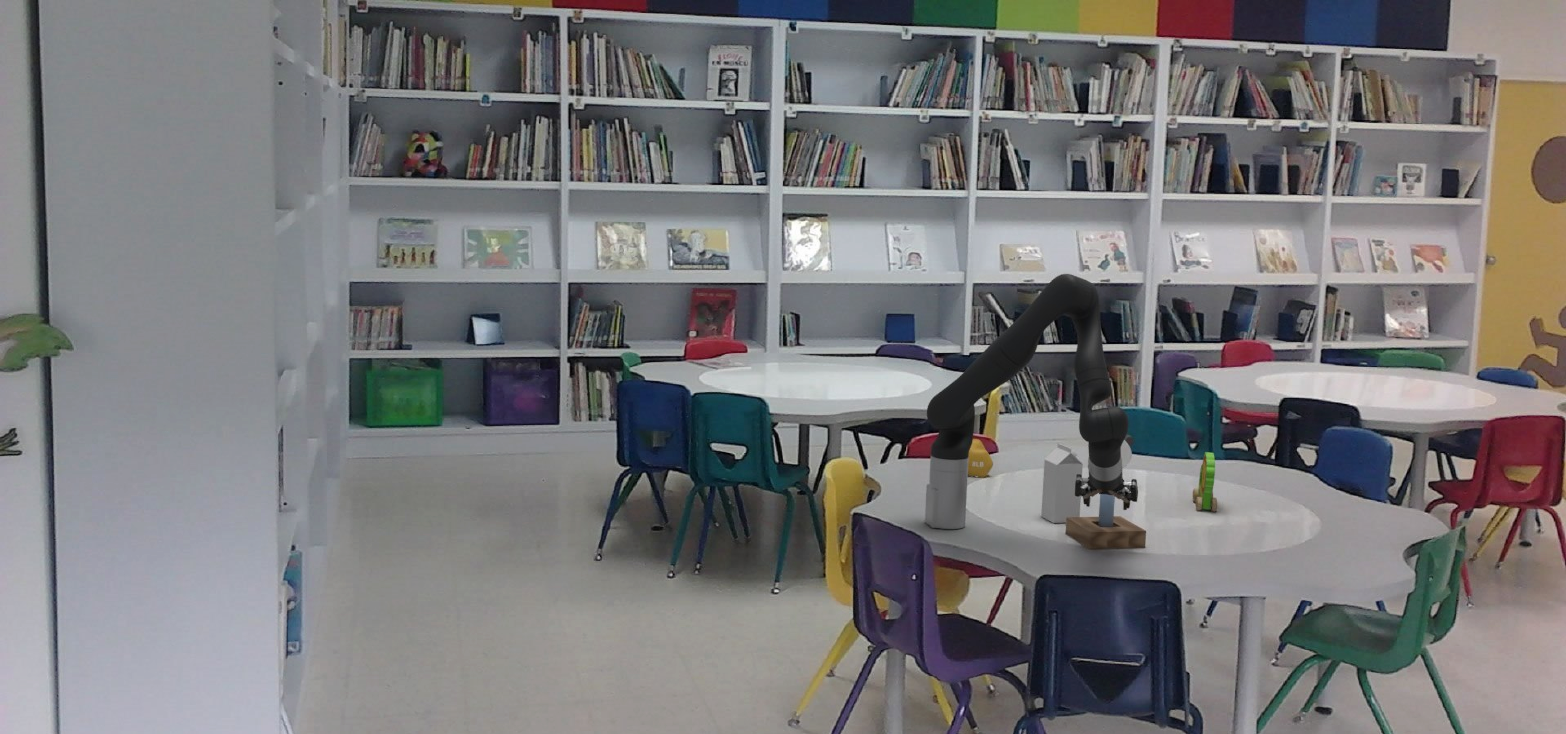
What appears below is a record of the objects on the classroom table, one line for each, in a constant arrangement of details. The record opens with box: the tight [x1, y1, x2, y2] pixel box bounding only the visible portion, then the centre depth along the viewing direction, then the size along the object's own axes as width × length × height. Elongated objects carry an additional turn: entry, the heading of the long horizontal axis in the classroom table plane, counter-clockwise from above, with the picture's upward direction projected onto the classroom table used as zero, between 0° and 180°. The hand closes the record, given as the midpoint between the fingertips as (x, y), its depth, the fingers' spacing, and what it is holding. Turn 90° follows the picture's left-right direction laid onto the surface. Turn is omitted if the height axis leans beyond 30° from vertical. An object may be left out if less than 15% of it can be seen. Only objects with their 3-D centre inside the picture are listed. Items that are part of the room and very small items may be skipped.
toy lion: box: [1192, 451, 1218, 512], centre depth 364 cm, size 16×5×15 cm, turn 168°
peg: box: [1098, 494, 1116, 527], centre depth 327 cm, size 3×3×14 cm
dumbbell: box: [968, 438, 994, 478], centre depth 402 cm, size 19×9×8 cm, turn 178°
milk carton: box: [1040, 442, 1084, 524], centre depth 345 cm, size 7×7×19 cm
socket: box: [1065, 515, 1147, 550], centre depth 328 cm, size 14×14×4 cm
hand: (1106, 505), depth 325 cm, fingers open, 8 cm apart
